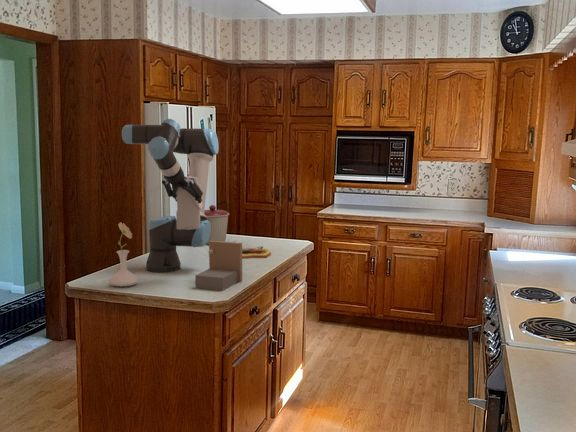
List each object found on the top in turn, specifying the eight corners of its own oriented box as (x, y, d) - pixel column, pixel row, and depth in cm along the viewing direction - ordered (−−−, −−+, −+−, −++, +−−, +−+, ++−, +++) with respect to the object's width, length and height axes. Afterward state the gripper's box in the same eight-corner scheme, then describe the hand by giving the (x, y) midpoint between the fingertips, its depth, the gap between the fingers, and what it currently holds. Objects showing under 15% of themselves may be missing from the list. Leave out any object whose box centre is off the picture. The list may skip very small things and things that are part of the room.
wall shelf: (193, 287, 236) (192, 247, 234) (211, 278, 251) (211, 240, 249) (225, 290, 231) (225, 250, 229) (242, 281, 246) (242, 242, 244)
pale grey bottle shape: (176, 230, 247) (175, 176, 244) (175, 228, 251) (174, 176, 247) (201, 229, 249) (201, 176, 246) (200, 227, 253) (200, 175, 250)
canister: (230, 240, 336) (229, 203, 333) (229, 246, 318) (228, 207, 315) (197, 240, 335) (196, 203, 332) (195, 246, 317) (194, 207, 314)
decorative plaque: (206, 244, 288) (212, 237, 308) (206, 259, 289) (212, 251, 309) (269, 245, 287) (271, 237, 307) (269, 260, 288) (272, 251, 308)
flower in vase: (140, 287, 236) (138, 224, 232) (110, 290, 232) (107, 226, 228) (136, 279, 248) (134, 219, 244) (107, 281, 244) (105, 221, 240)
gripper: (145, 176, 236) (167, 212, 253) (191, 178, 229) (211, 214, 246) (152, 162, 240) (173, 198, 257) (198, 163, 233) (217, 200, 251)
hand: (192, 206), depth 252 cm, fingers closed on pale grey bottle shape, 8 cm apart
